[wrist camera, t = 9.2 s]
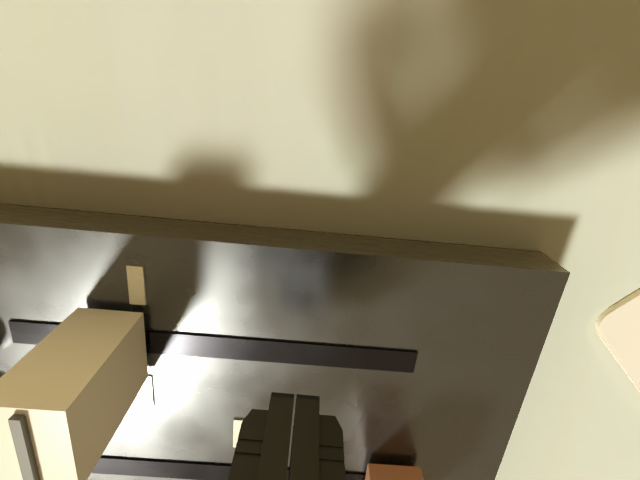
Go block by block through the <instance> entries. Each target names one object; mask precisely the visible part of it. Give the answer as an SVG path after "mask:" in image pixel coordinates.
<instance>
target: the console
mask: <svg viewBox="0 0 640 480" xmlns="http://www.w3.org/2000/svg"><path fill="white" fill-rule="evenodd" d="M569 274H570V272H568V271H567V270H566V269H564V268H563V267H561V266H560V265H559V264H557V263H556V262H554V261H553V260H552V259H550V258H549V257H547V256H546V255H545V254H543V253H542V252H538V251H526V250H515V249H504V248H493V247H481V246H470V245H459V244H448V243H436V242H425V241H414V240H403V239H391V238H380V237H369V236H358V235H346V234H335V233H324V232H313V231H302V230H290V229H279V228H268V227H257V226H245V225H234V224H223V223H212V222H200V221H189V220H178V219H167V218H155V217H144V216H133V215H122V214H110V213H99V212H88V211H77V210H65V209H54V208H43V207H32V206H20V205H9V204H0V378H1V377H2V376H3V375H4V374H5V373H6V372H7V371H8V370H9V369H11V368H12V367H13V366H14V365H15V364H16V363H17V362H18V361H19V360H20V359H22V358H23V357H24V356H25V355H26V354H27V353H28V352H29V351H30V350H32V349H33V348H34V347H35V346H36V345H37V344H38V343H39V342H40V341H42V340H43V339H44V338H45V337H46V336H47V335H48V334H49V333H50V332H52V331H53V330H54V329H55V328H56V327H57V326H58V325H59V324H60V323H62V322H63V321H64V320H65V319H66V318H67V317H68V316H69V315H70V314H71V313H73V312H74V311H75V310H76V309H77V308H78V307H79V308H91V309H104V310H116V311H129V312H142V313H143V315H144V328H145V341H146V353H147V366H148V378H147V380H146V381H145V383H144V385H143V386H142V388H141V390H140V392H139V393H138V395H137V397H136V398H135V400H134V402H133V403H132V405H131V407H130V408H129V410H128V412H127V413H126V415H125V417H124V418H123V420H122V422H121V424H120V425H119V427H118V429H117V430H116V432H115V434H114V435H113V437H112V439H111V440H110V442H109V444H108V445H107V447H106V449H105V450H104V452H103V454H102V456H101V457H100V459H99V461H98V462H97V464H96V466H95V467H94V469H93V471H92V472H91V474H90V476H89V477H88V479H87V480H228V477H229V472H230V468H231V464H232V460H233V456H234V453H235V448H236V444H237V441H238V436H239V432H240V428H241V423H242V421H243V420H244V419H245V417H246V416H247V415H248V414H249V412H250V411H251V410H252V409H259V410H268V409H269V403H270V398H271V393H272V392H276V393H288V394H294V405H293V415H292V426H291V436H290V447H289V457H288V468H287V478H286V480H288V477H289V466H290V455H291V444H292V434H293V424H294V414H295V404H296V395H297V394H301V395H312V396H319V397H320V410H319V415H331V416H336V418H337V420H338V422H339V424H340V426H341V428H342V430H343V443H344V460H345V461H344V464H345V478H346V480H365V476H366V471H367V466H368V463H369V464H384V465H400V466H415V467H421V471H422V475H423V478H424V480H495V477H496V474H497V471H498V469H499V466H500V463H501V461H502V458H503V455H504V452H505V450H506V447H507V444H508V441H509V439H510V436H511V433H512V430H513V428H514V425H515V422H516V419H517V417H518V414H519V411H520V408H521V406H522V403H523V400H524V397H525V395H526V392H527V389H528V386H529V384H530V381H531V378H532V376H533V373H534V370H535V367H536V365H537V362H538V359H539V356H540V354H541V351H542V348H543V345H544V343H545V340H546V337H547V334H548V332H549V329H550V326H551V323H552V321H553V318H554V315H555V312H556V310H557V307H558V304H559V301H560V299H561V296H562V293H563V291H564V288H565V285H566V282H567V280H568V277H569Z"/></svg>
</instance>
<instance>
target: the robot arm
mask: <svg viewBox="0 0 640 480" xmlns="http://www.w3.org/2000/svg"><path fill="white" fill-rule="evenodd" d="M293 405H294V394H288V393H276V392H272V393H271V398H270V403H269V409H268V410H259V409H252V410H251V411H250V412H249V414H248V415H247V416H246V417H245V419H244V420H243V421H242V423H241V428H240V432H239V436H238V441H237V444H236V448H235V453H234V456H233V460H232V464H231V468H230V472H229V477H228V480H286V478H287V468H288V457H289V447H290V436H291V426H292V415H293ZM319 410H320V397H319V396H312V395H301V394H297V395H296V404H295V414H294V424H293V434H292V444H291V455H290V466H289V477H288V480H346V478H345V464H344V461H345V460H344V443H343V430H342V428H341V426H340V424H339V422H338V420H337V418H336V416H331V415H319Z"/></svg>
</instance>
